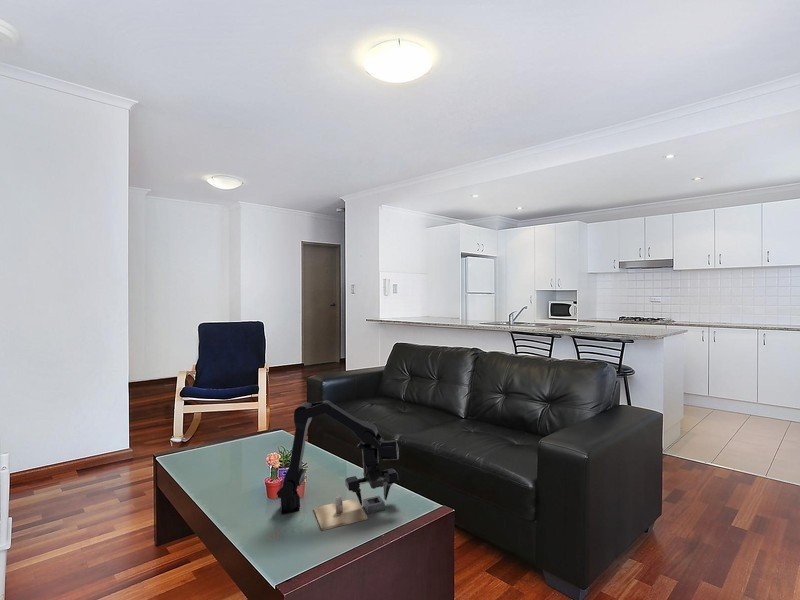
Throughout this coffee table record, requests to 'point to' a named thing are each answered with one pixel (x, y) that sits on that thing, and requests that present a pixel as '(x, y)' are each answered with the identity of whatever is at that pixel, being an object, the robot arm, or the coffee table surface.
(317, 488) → the coffee table surface
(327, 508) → the wooden peg base
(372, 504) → the collar
